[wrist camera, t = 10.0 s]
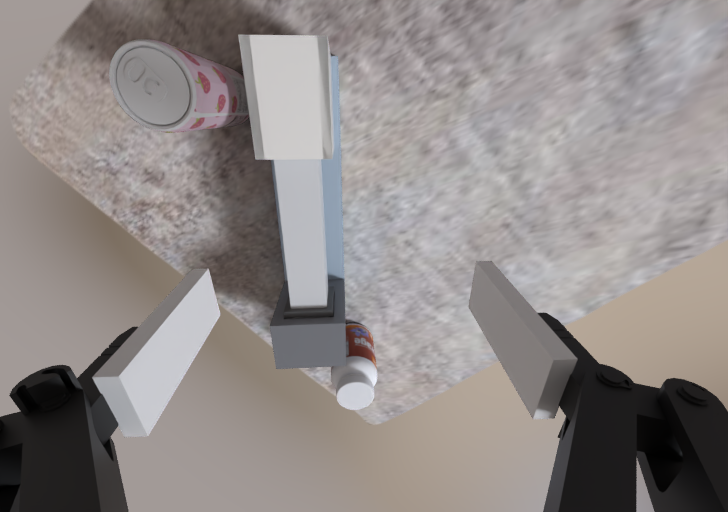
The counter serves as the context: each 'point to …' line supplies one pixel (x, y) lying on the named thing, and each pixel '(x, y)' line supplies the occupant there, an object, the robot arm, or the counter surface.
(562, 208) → the counter surface
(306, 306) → the tube
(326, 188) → the mounting board
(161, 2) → the counter surface
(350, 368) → the pill bottle
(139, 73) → the beverage can
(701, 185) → the counter surface
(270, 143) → the sleeve
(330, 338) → the socket
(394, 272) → the counter surface
